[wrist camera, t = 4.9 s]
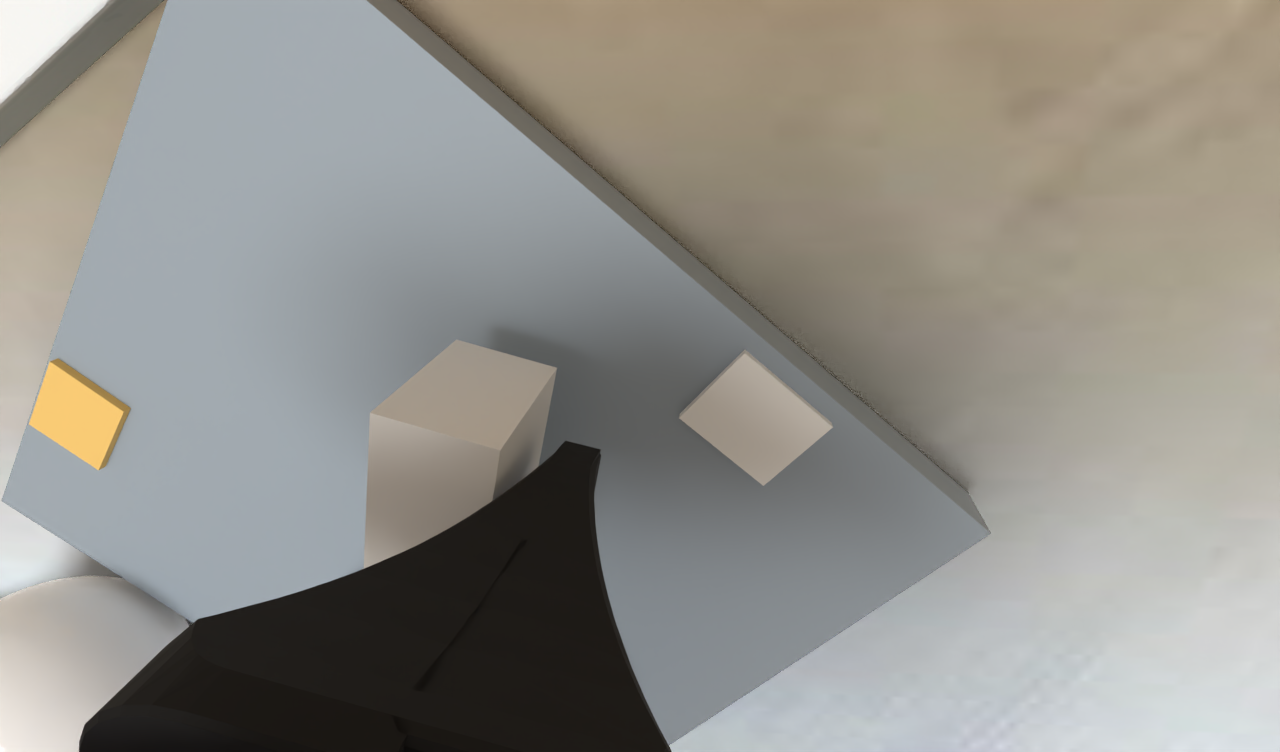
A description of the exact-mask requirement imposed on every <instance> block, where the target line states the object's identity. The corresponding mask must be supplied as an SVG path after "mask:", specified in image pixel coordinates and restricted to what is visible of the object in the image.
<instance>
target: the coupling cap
mask: <svg viewBox="0 0 1280 752" xmlns="http://www.w3.org/2000/svg"><path fill="white" fill-rule="evenodd" d="M556 371H557V368H556V367H552V366H549V365H545V364H542V363H538V362H535V361H531V360H528V359H524V358H520V357H517V356H513V355H510V354H506V353H503V352H499V351H496V350H492V349H488V348H485V347H481V346H478V345H474V344H471V343H467V342H464V341H460V340H455V341H454V342H453V343H452V344H451V345H449V346H448V347H447V348H446V349H445V350H443V351H442V352H441V353H440V354H439V355H438V356H436V357H435V358H434V359H433V360H432V361H430V362H429V363H428V364H427V365H426V366H425V367H423V368H422V369H421V370H420V371H419V372H417V373H416V374H415V375H414V376H413V377H412V378H410V379H409V380H408V381H407V382H406V383H404V384H403V385H402V386H401V387H400V388H399V389H397V390H396V391H395V392H394V393H393V394H391V395H390V396H389V397H388V398H387V399H386V400H384V401H383V402H382V403H381V404H380V405H378V406H377V407H376V408H375V409H374V410H373V411H371V412H370V422H369V447H368V472H367V497H366V522H365V547H364V569H365V568H367V567H369V566H371V565H374V564H376V563H378V562H381V561H383V560H385V559H388V558H390V557H392V556H394V555H397V554H399V553H401V552H404V551H406V550H408V549H410V548H412V547H414V546H416V545H418V544H420V543H422V542H424V541H426V540H428V539H430V538H432V537H434V536H436V535H438V534H439V533H441V532H443V531H445V530H447V529H448V528H450V527H452V526H453V525H455V524H457V523H459V522H460V521H462V520H464V519H465V518H467V517H468V516H470V515H472V514H473V513H475V512H476V511H478V510H479V509H481V508H482V507H484V506H485V505H487V504H488V503H490V502H491V501H493V500H494V499H496V498H497V497H499V496H500V495H502V494H503V493H504V492H506V491H507V490H508V489H510V488H511V487H513V486H514V485H515V484H517V483H518V482H519V481H521V480H522V479H523V478H525V477H526V476H527V475H528V474H530V473H531V472H532V471H533V470H535V469H536V468H537V467H538V466H539V460H540V455H541V450H542V445H543V439H544V434H545V429H546V424H547V418H548V413H549V408H550V402H551V397H552V392H553V387H554V381H555V376H556Z"/></svg>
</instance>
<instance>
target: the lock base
mask: <svg viewBox="0 0 1280 752" xmlns="http://www.w3.org/2000/svg"><path fill="white" fill-rule="evenodd" d="M455 340H460V341H464V342H467V343H471V344H474V345H478V346H481V347H485V348H488V349H492V350H496V351H499V352H503V353H506V354H510V355H513V356H517V357H520V358H524V359H528V360H531V361H535V362H538V363H542V364H545V365H549V366H552V367H556V368H557V371H556V376H555V381H554V387H553V392H552V397H551V402H550V408H549V413H548V418H547V424H546V429H545V434H544V439H543V445H542V450H541V455H540V460H539V466H540V465H541V464H542V463H543V462H545V461H546V460H547V459H548V458H549V457H550V456H552V455H553V454H554V453H555V452H556V451H557V449H558V448H559V447H560V446H561V445H562V444H563V443H564V442H565V441H569V442H573V443H577V444H581V445H585V446H589V447H593V448H597V449H601V451H600V454H601V460H600V465H599V470H598V476H597V481H596V486H595V491H594V506H595V523H596V533H597V541H598V548H599V555H600V561H601V566H602V571H603V576H604V581H605V585H606V589H607V593H608V597H609V601H610V604H611V608H612V611H613V615H614V618H615V622H616V625H617V628H618V630H619V633H620V636H621V639H622V642H623V644H624V647H625V650H626V653H627V655H628V658H629V661H630V664H631V667H632V669H633V671H634V674H635V676H636V678H637V681H638V683H639V685H640V688H641V690H642V692H643V695H644V697H645V699H646V701H647V703H648V706H649V708H650V710H651V712H652V714H653V716H654V718H655V720H656V722H657V724H658V726H659V728H660V730H661V732H662V734H663V736H664V738H665V740H666V741H667V743H668V745H670V744H672V743H673V742H675V741H676V740H678V739H679V738H681V737H682V736H684V735H685V734H687V733H688V732H690V731H691V730H693V729H694V728H696V727H697V726H699V725H700V724H702V723H703V722H705V721H707V720H708V719H710V718H711V717H713V716H714V715H716V714H717V713H719V712H720V711H722V710H723V709H725V708H726V707H728V706H729V705H731V704H732V703H734V702H735V701H737V700H738V699H740V698H742V697H743V696H745V695H746V694H748V693H749V692H751V691H752V690H754V689H755V688H757V687H758V686H760V685H761V684H763V683H764V682H766V681H767V680H769V679H770V678H772V677H773V676H775V675H777V674H778V673H780V672H781V671H783V670H784V669H786V668H787V667H789V666H790V665H792V664H793V663H795V662H796V661H798V660H799V659H801V658H802V657H804V656H805V655H807V654H808V653H810V652H812V651H813V650H815V649H816V648H818V647H819V646H821V645H822V644H824V643H825V642H827V641H828V640H830V639H831V638H833V637H834V636H836V635H837V634H839V633H840V632H842V631H843V630H845V629H847V628H848V627H850V626H851V625H853V624H854V623H856V622H857V621H859V620H860V619H862V618H863V617H865V616H866V615H868V614H869V613H871V612H872V611H874V610H875V609H877V608H878V607H880V606H881V605H883V604H885V603H886V602H888V601H889V600H891V599H892V598H894V597H895V596H897V595H898V594H900V593H901V592H903V591H904V590H906V589H907V588H909V587H910V586H912V585H913V584H915V583H916V582H918V581H920V580H921V579H923V578H924V577H926V576H927V575H929V574H930V573H932V572H933V571H935V570H936V569H938V568H939V567H941V566H942V565H944V564H945V563H947V562H948V561H950V560H951V559H953V558H955V557H956V556H958V555H959V554H961V553H962V552H964V551H965V550H967V549H968V548H970V547H971V546H973V545H974V544H976V543H977V542H979V541H980V540H982V539H983V538H985V537H986V536H988V535H990V534H991V532H990V531H989V529H988V527H987V525H986V524H985V522H984V520H983V518H982V517H981V515H980V513H979V511H978V509H977V508H976V506H975V504H974V502H973V501H972V499H971V497H970V495H969V493H968V492H967V491H966V490H964V489H963V488H962V487H961V486H960V485H959V484H957V483H956V482H955V481H954V480H953V479H952V478H950V477H949V476H948V475H947V474H946V473H945V472H944V471H942V470H941V469H940V468H939V467H938V466H937V465H935V464H934V463H933V462H932V461H931V460H930V459H928V458H927V457H926V456H925V455H924V454H923V453H921V452H920V451H919V450H918V449H917V448H916V447H915V446H913V445H912V444H911V443H910V442H909V441H908V440H906V439H905V438H904V437H903V436H902V435H901V434H899V433H898V432H897V431H896V430H895V429H894V428H892V427H891V426H890V425H889V424H888V423H887V422H885V421H884V420H883V419H882V418H881V417H880V416H879V415H877V414H876V413H875V412H874V411H873V410H872V409H870V408H869V407H868V406H867V405H866V404H865V403H863V402H862V401H861V400H860V399H859V398H858V397H856V396H855V395H854V394H853V393H852V392H851V391H849V390H848V389H847V388H846V387H845V386H844V385H843V384H841V383H840V382H839V381H838V380H837V379H836V378H834V377H833V376H832V375H831V374H830V373H829V372H827V371H826V370H825V369H824V368H823V367H822V366H820V365H819V364H818V363H817V362H816V361H815V360H814V359H812V358H811V357H810V356H809V355H808V354H807V353H805V352H804V351H803V350H802V349H801V348H800V347H798V346H797V345H796V344H795V343H794V342H793V341H791V340H790V339H789V338H788V337H787V336H786V335H784V334H783V333H782V332H781V331H780V330H779V329H778V328H776V327H775V326H774V325H773V324H772V323H771V322H769V321H768V320H767V319H766V318H765V317H764V316H762V315H761V314H760V313H759V312H758V311H757V310H755V309H754V308H753V307H752V306H751V305H750V304H749V303H747V302H746V301H745V300H744V299H743V298H742V297H740V296H739V295H738V294H737V293H736V292H735V291H733V290H732V289H731V288H730V287H729V286H728V285H726V284H725V283H724V282H723V281H722V280H721V279H719V278H718V277H717V276H716V275H715V274H714V273H713V272H711V271H710V270H709V269H708V268H707V267H706V266H704V265H703V264H702V263H701V262H700V261H699V260H697V259H696V258H695V257H694V256H693V255H692V254H690V253H689V252H688V251H687V250H686V249H685V248H684V247H682V246H681V245H680V244H679V243H678V242H677V241H675V240H674V239H673V238H672V237H671V236H670V235H668V234H667V233H666V232H665V231H664V230H663V229H661V228H660V227H659V226H658V225H657V224H656V223H654V222H653V221H652V220H651V219H650V218H649V217H648V216H646V215H645V214H644V213H643V212H642V211H641V210H639V209H638V208H637V207H636V206H635V205H634V204H632V203H631V202H630V201H629V200H628V199H627V198H625V197H624V196H623V195H622V194H621V193H620V192H619V191H617V190H616V189H615V188H614V187H613V186H612V185H610V184H609V183H608V182H607V181H606V180H605V179H603V178H602V177H601V176H600V175H599V174H598V173H596V172H595V171H594V170H593V169H592V168H591V167H589V166H588V165H587V164H586V163H585V162H584V161H583V160H581V159H580V158H579V157H578V156H577V155H576V154H574V153H573V152H572V151H571V150H570V149H569V148H567V147H566V146H565V145H564V144H563V143H562V142H560V141H559V140H558V139H557V138H556V137H555V136H554V135H552V134H551V133H550V132H549V131H548V130H547V129H545V128H544V127H543V126H542V125H541V124H540V123H538V122H537V121H536V120H535V119H534V118H533V117H531V116H530V115H529V114H528V113H527V112H526V111H524V110H523V109H522V108H521V107H520V106H519V105H518V104H516V103H515V102H514V101H513V100H512V99H511V98H509V97H508V96H507V95H506V94H505V93H504V92H502V91H501V90H500V89H499V88H498V87H497V86H495V85H494V84H493V83H492V82H491V81H490V80H489V79H487V78H486V77H485V76H484V75H483V74H482V73H480V72H479V71H478V70H477V69H476V68H475V67H473V66H472V65H471V64H470V63H469V62H468V61H466V60H465V59H464V58H463V57H462V56H461V55H459V54H458V53H457V52H456V51H455V50H454V49H453V48H451V47H450V46H449V45H448V44H447V43H446V42H444V41H443V40H442V39H441V38H440V37H439V36H437V35H436V34H435V33H434V32H433V31H432V30H430V29H429V28H428V27H427V26H426V25H425V24H424V23H422V22H421V21H420V20H419V19H418V18H417V17H415V16H414V15H413V14H412V13H411V12H410V11H408V10H407V9H406V8H405V7H404V6H403V5H401V4H400V3H399V2H398V1H397V0H168V1H167V4H166V7H165V10H164V13H163V16H162V19H161V22H160V25H159V28H158V31H157V34H156V37H155V40H154V43H153V46H152V49H151V52H150V55H149V58H148V61H147V64H146V67H145V70H144V73H143V76H142V79H141V82H140V85H139V88H138V91H137V94H136V97H135V100H134V103H133V106H132V109H131V112H130V115H129V118H128V121H127V124H126V127H125V130H124V133H123V136H122V139H121V142H120V145H119V148H118V152H117V155H116V158H115V161H114V164H113V167H112V170H111V173H110V176H109V179H108V182H107V185H106V188H105V191H104V194H103V197H102V200H101V203H100V206H99V209H98V212H97V215H96V218H95V221H94V224H93V227H92V230H91V233H90V236H89V239H88V242H87V245H86V248H85V251H84V254H83V257H82V260H81V263H80V266H79V269H78V272H77V275H76V278H75V281H74V284H73V287H72V290H71V293H70V296H69V299H68V302H67V305H66V308H65V311H64V314H63V317H62V320H61V323H60V326H59V329H58V332H57V335H56V338H55V341H54V344H53V347H52V350H51V353H50V356H49V359H48V362H47V365H46V368H45V371H44V374H43V377H42V380H41V384H40V387H39V390H38V393H37V396H36V399H35V402H34V405H33V408H32V411H31V414H30V417H29V420H28V423H27V426H26V429H25V432H24V435H23V438H22V441H21V444H20V447H19V450H18V453H17V456H16V459H15V462H14V465H13V468H12V471H11V474H10V477H9V480H8V483H7V486H6V489H5V492H4V495H3V498H2V502H4V503H6V504H7V505H9V506H10V507H12V508H13V509H15V510H17V511H18V512H20V513H21V514H23V515H24V516H26V517H28V518H29V519H31V520H32V521H34V522H35V523H37V524H39V525H40V526H42V527H43V528H45V529H46V530H48V531H50V532H51V533H53V534H54V535H56V536H57V537H59V538H61V539H62V540H64V541H65V542H67V543H68V544H70V545H72V546H73V547H75V548H76V549H78V550H79V551H81V552H83V553H84V554H86V555H87V556H89V557H90V558H92V559H94V560H95V561H97V562H98V563H100V564H101V565H103V566H105V567H106V568H108V569H109V570H111V571H112V572H114V573H116V574H117V575H119V576H120V577H122V578H123V579H125V580H127V581H128V582H130V583H131V584H133V585H134V586H136V587H138V588H139V589H141V590H142V591H144V592H145V593H147V594H149V595H150V596H152V597H153V598H155V599H156V600H158V601H160V602H161V603H163V604H164V605H166V606H167V607H169V608H171V609H172V610H174V611H175V612H177V613H178V614H180V615H182V616H183V617H185V618H186V619H188V620H189V621H191V622H193V623H194V622H195V621H196V620H197V619H200V618H204V617H208V616H212V615H217V614H220V613H224V612H228V611H232V610H235V609H239V608H243V607H247V606H250V605H254V604H258V603H261V602H265V601H269V600H273V599H276V598H280V597H283V596H286V595H290V594H293V593H296V592H300V591H303V590H306V589H309V588H312V587H315V586H318V585H321V584H324V583H327V582H330V581H332V580H335V579H338V578H341V577H343V576H346V575H349V574H351V573H354V572H357V571H359V570H362V569H364V547H365V522H366V497H367V472H368V447H369V422H370V412H371V411H373V410H374V409H375V408H376V407H377V406H378V405H380V404H381V403H382V402H383V401H384V400H386V399H387V398H388V397H389V396H390V395H391V394H393V393H394V392H395V391H396V390H397V389H399V388H400V387H401V386H402V385H403V384H404V383H406V382H407V381H408V380H409V379H410V378H412V377H413V376H414V375H415V374H416V373H417V372H419V371H420V370H421V369H422V368H423V367H425V366H426V365H427V364H428V363H429V362H430V361H432V360H433V359H434V358H435V357H436V356H438V355H439V354H440V353H441V352H442V351H443V350H445V349H446V348H447V347H448V346H449V345H451V344H452V343H453V342H454V341H455Z"/></svg>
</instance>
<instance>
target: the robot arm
mask: <svg viewBox="0 0 1280 752" xmlns="http://www.w3.org/2000/svg"><path fill="white" fill-rule="evenodd" d="M600 451H601V449H597V448H593V447H589V446H585V445H581V444H577V443H573V442H569V441H565V442H564V443H563V444H562V445H561V446H560V447H559V448H558V449H557V451H556V452H555V453H554V454H553V455H552V456H550V457H549V458H548V459H547V460H546V461H545V462H543V463H542V464H541V465H540V466H538V467H537V468H536V469H535V470H533V471H532V472H531V473H530V474H528V475H527V476H526V477H525V478H523V479H522V480H521V481H519V482H518V483H517V484H515V485H514V486H513V487H511V488H510V489H508V490H507V491H506V492H504V493H503V494H502V495H500V496H499V497H497V498H496V499H494V500H493V501H491V502H490V503H488V504H487V505H485V506H484V507H482V508H481V509H479V510H478V511H476V512H475V513H473V514H472V515H470V516H468V517H467V518H465V519H464V520H462V521H460V522H459V523H457V524H455V525H453V526H452V527H450V528H448V529H447V530H445V531H443V532H441V533H439V534H438V535H436V536H434V537H432V538H430V539H428V540H426V541H424V542H422V543H420V544H418V545H416V546H414V547H412V548H410V549H408V550H406V551H404V552H401V553H399V554H397V555H394V556H392V557H390V558H388V559H385V560H383V561H381V562H378V563H376V564H374V565H371V566H369V567H367V568H365V569H362V570H359V571H357V572H354V573H351V574H349V575H346V576H343V577H341V578H338V579H335V580H332V581H330V582H327V583H324V584H321V585H318V586H315V587H312V588H309V589H306V590H303V591H300V592H296V593H293V594H290V595H286V596H283V597H280V598H276V599H273V600H269V601H265V602H261V603H258V604H254V605H250V606H247V607H243V608H239V609H235V610H232V611H228V612H224V613H220V614H217V615H212V616H208V617H204V618H200V619H197V620H196V621H195V622H194V623H193V624H191V625H190V626H189V627H188V628H187V629H186V630H184V631H183V632H182V633H181V634H180V635H178V636H177V637H176V638H175V639H174V640H172V641H171V642H170V643H169V644H168V645H167V646H165V647H164V648H163V649H162V650H161V651H160V652H159V653H158V654H157V655H156V656H155V657H154V658H153V659H152V660H151V661H150V662H149V663H148V664H147V665H146V666H145V667H144V668H143V669H142V670H140V671H139V672H138V673H137V674H136V675H135V676H134V677H133V678H132V679H131V680H130V681H129V682H128V683H127V684H126V685H125V686H124V687H123V688H122V689H121V690H120V691H119V692H118V693H117V694H116V695H115V696H113V697H112V698H111V699H110V700H109V701H108V702H107V703H106V704H105V705H104V706H103V707H102V708H101V709H100V710H99V711H98V712H97V713H96V714H95V715H94V716H93V717H92V718H91V719H90V720H89V721H88V722H86V723H85V725H84V728H83V731H82V734H81V737H80V740H79V752H671V749H670V747H669V745H668V743H667V741H666V740H665V738H664V736H663V734H662V732H661V730H660V728H659V726H658V724H657V722H656V720H655V718H654V716H653V714H652V712H651V710H650V708H649V706H648V703H647V701H646V699H645V697H644V695H643V692H642V690H641V688H640V685H639V683H638V681H637V678H636V676H635V674H634V671H633V669H632V667H631V664H630V661H629V658H628V655H627V653H626V650H625V647H624V644H623V642H622V639H621V636H620V633H619V630H618V628H617V625H616V622H615V618H614V615H613V611H612V608H611V604H610V601H609V597H608V593H607V589H606V585H605V581H604V576H603V571H602V566H601V561H600V555H599V548H598V541H597V533H596V523H595V506H594V491H595V486H596V481H597V476H598V470H599V465H600V460H601V454H600Z"/></svg>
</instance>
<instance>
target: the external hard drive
mask: <svg viewBox="0 0 1280 752" xmlns="http://www.w3.org/2000/svg"><path fill="white" fill-rule="evenodd" d="M163 1H164V0H0V147H1V146H2V145H3V144H5V143H6V142H7V141H8V140H9V139H10V138H11V137H12V136H13V135H14V134H16V133H17V132H18V131H19V130H20V129H21V128H22V127H23V126H25V125H26V124H27V123H28V122H29V121H30V120H31V119H32V118H33V117H35V116H36V115H37V114H38V113H39V112H40V111H41V110H42V109H43V108H44V107H46V106H47V105H48V104H49V103H50V102H51V101H52V100H53V99H54V98H56V97H57V96H58V95H59V94H60V93H61V92H62V91H63V90H64V89H66V88H67V87H68V86H69V85H70V84H71V83H72V82H73V81H74V80H75V79H77V78H78V77H79V76H80V75H81V74H82V73H83V72H84V71H85V70H87V69H88V68H89V67H90V66H91V65H92V64H93V63H94V62H95V61H97V60H98V59H99V58H100V57H101V56H102V55H103V54H104V53H106V52H107V51H108V50H109V49H110V48H111V47H112V46H113V45H114V44H116V43H117V42H118V41H119V40H120V39H121V38H122V37H123V36H124V35H126V34H127V33H128V32H129V31H130V30H131V29H132V28H133V27H135V26H136V25H137V24H138V23H139V22H140V21H141V20H142V19H144V18H145V17H146V16H147V15H148V14H149V13H150V12H151V11H152V10H154V9H155V8H156V7H157V6H158V5H159V4H160V3H161V2H163Z"/></svg>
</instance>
